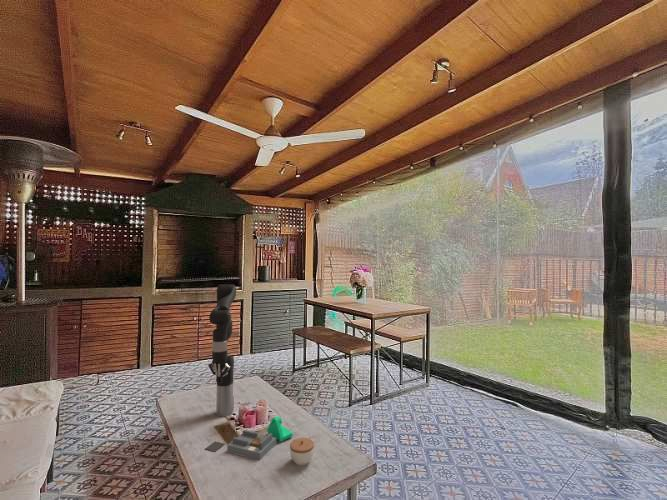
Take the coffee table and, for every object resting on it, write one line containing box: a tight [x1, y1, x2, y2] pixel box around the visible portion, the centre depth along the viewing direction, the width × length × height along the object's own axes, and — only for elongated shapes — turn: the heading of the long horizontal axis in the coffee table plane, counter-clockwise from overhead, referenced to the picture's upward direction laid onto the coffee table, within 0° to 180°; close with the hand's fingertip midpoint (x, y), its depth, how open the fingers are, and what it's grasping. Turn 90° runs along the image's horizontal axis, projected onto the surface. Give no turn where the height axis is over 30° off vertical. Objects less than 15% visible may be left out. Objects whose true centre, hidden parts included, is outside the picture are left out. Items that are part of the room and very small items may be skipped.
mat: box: [204, 441, 226, 453], centre depth 159 cm, size 7×6×1 cm
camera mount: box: [266, 415, 293, 442], centre depth 170 cm, size 12×8×10 cm, turn 44°
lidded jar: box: [289, 437, 315, 467], centre depth 148 cm, size 11×11×9 cm
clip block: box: [250, 437, 263, 448], centre depth 158 cm, size 5×4×4 cm
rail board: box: [226, 429, 277, 460], centre depth 159 cm, size 14×18×6 cm
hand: (219, 383), depth 169 cm, fingers closed
